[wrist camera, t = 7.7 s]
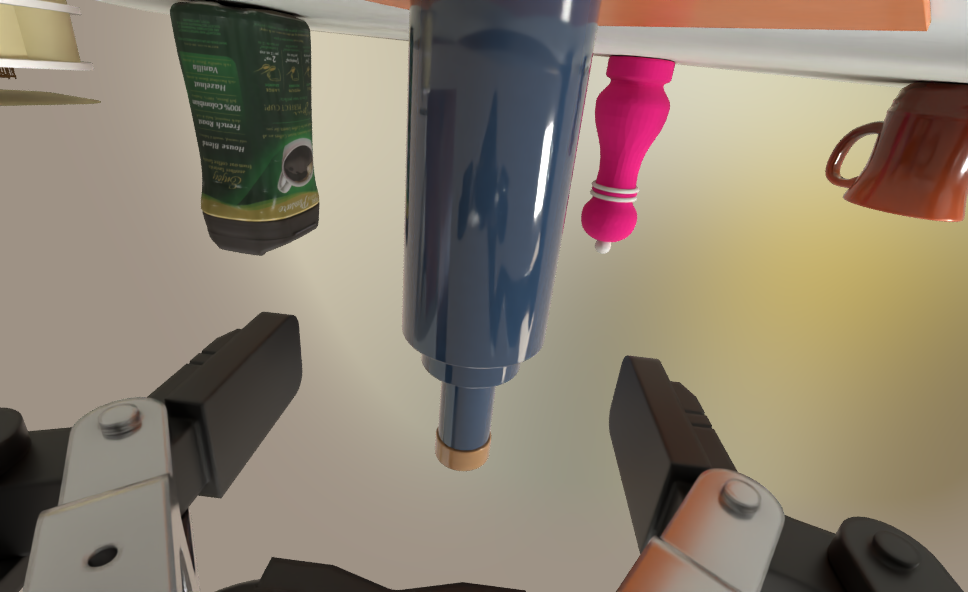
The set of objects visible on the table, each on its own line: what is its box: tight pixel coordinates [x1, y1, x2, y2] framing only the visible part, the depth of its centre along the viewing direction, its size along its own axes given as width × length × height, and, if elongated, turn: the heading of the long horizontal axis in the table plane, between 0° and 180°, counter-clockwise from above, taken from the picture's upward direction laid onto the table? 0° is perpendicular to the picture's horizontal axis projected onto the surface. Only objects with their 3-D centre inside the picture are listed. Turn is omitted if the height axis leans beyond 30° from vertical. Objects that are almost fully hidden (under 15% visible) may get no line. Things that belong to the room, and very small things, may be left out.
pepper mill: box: [581, 56, 675, 253], centre depth 50 cm, size 7×7×20 cm
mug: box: [825, 82, 968, 222], centre depth 42 cm, size 12×9×10 cm
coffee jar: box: [170, 0, 319, 256], centre depth 39 cm, size 10×8×19 cm
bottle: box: [402, 0, 602, 471], centre depth 20 cm, size 6×6×20 cm
